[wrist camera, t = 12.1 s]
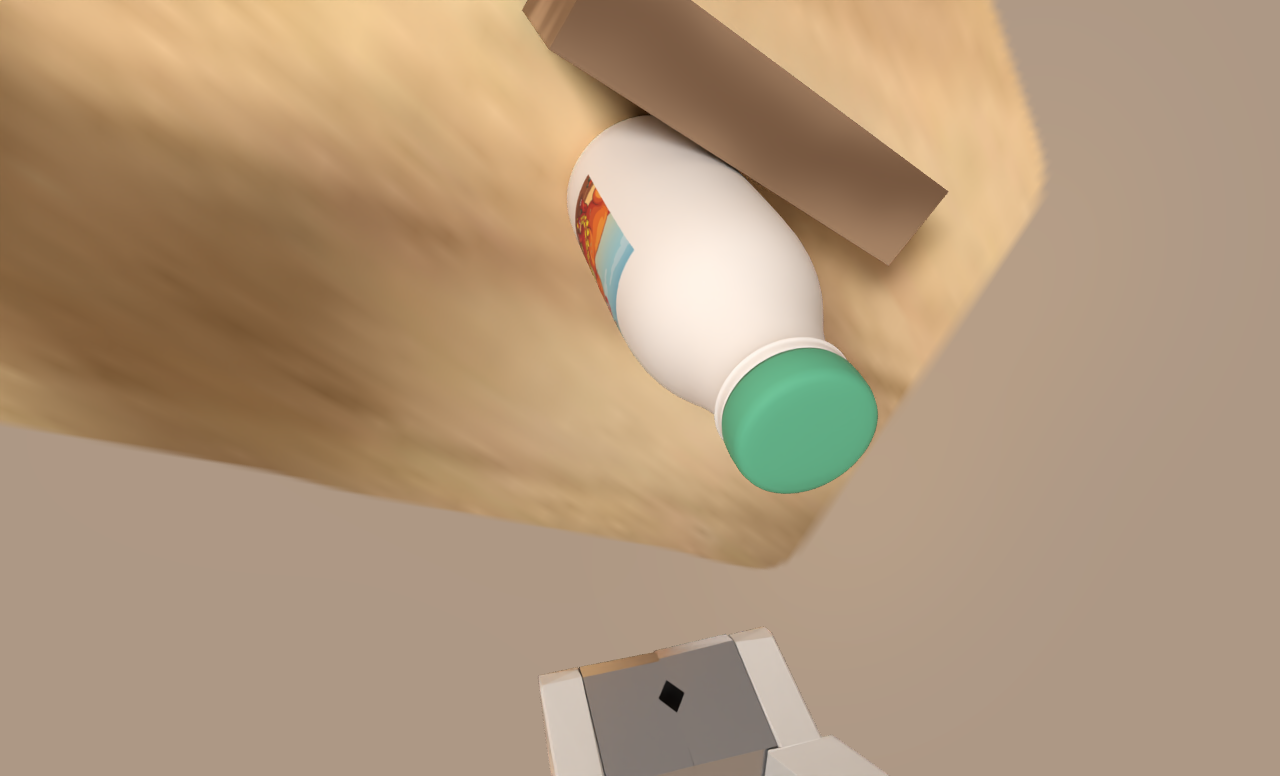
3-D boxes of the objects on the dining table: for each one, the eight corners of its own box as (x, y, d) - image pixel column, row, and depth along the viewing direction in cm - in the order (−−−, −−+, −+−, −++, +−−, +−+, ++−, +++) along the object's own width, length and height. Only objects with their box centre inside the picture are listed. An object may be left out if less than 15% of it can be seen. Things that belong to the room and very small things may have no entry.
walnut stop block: (823, 206, 44) (888, 265, 38) (522, 10, 35) (549, 49, 29) (873, 140, 42) (948, 191, 37) (572, -83, 33) (610, -60, 28)
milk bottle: (594, 88, 37) (752, 300, 21) (743, 137, 40) (978, 353, 24) (543, 244, 41) (646, 524, 25) (683, 278, 44) (855, 547, 28)
